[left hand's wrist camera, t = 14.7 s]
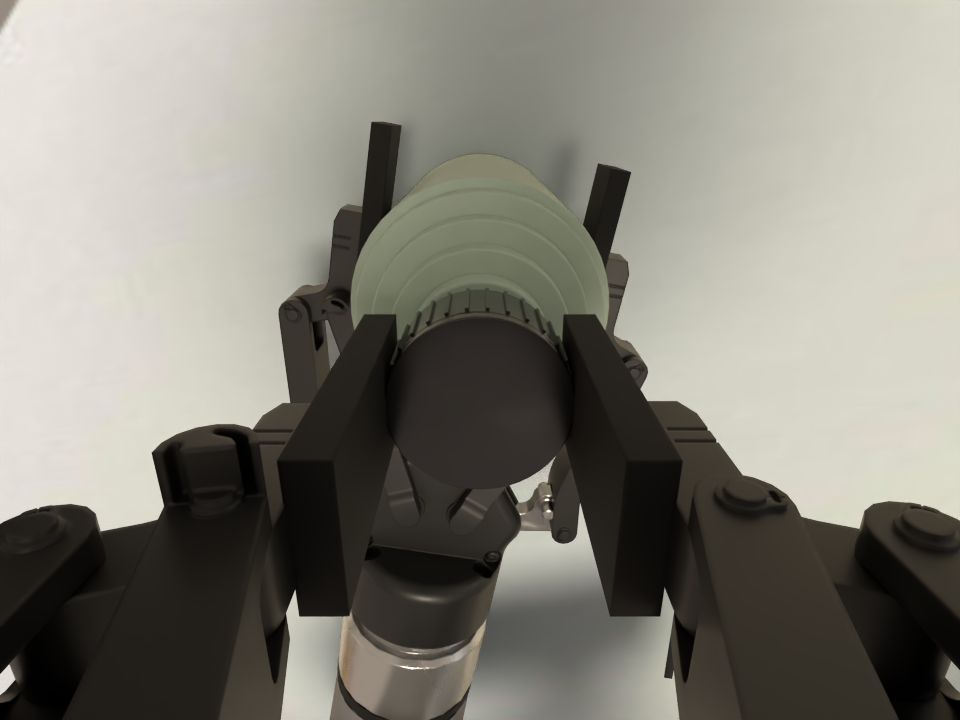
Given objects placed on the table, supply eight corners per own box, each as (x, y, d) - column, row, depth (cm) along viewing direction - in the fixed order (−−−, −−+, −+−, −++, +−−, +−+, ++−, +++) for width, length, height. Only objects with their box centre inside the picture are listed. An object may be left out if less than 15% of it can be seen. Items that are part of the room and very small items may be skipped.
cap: (362, 331, 14) (343, 365, 12) (523, 256, 13) (531, 279, 11) (441, 467, 15) (436, 517, 13) (591, 406, 15) (608, 449, 13)
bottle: (385, 168, 29) (238, 242, 12) (549, 140, 29) (661, 172, 11) (417, 323, 32) (341, 572, 15) (567, 300, 32) (677, 529, 14)
